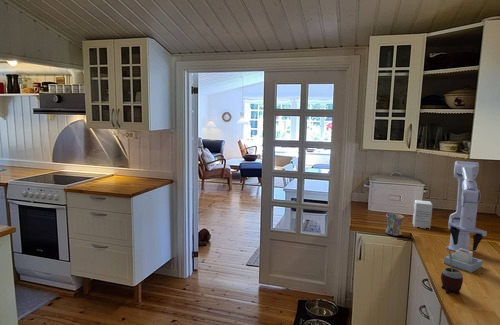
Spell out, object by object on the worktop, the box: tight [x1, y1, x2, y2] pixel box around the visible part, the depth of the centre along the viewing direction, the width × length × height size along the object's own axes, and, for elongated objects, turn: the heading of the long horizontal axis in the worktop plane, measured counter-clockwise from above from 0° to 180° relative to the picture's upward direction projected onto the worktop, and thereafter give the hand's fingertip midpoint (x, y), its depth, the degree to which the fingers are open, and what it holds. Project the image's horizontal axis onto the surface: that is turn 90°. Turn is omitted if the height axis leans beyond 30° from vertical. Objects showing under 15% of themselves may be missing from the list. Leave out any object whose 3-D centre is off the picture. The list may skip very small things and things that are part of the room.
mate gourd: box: [440, 246, 464, 295], centre depth 128 cm, size 8×8×15 cm
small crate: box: [454, 248, 474, 265], centre depth 151 cm, size 5×5×6 cm
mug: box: [385, 212, 405, 237], centre depth 190 cm, size 12×9×11 cm
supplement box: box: [412, 199, 433, 230], centre depth 207 cm, size 9×9×15 cm
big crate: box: [443, 252, 484, 274], centre depth 152 cm, size 11×11×3 cm
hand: (464, 247), depth 151 cm, fingers open, 7 cm apart
